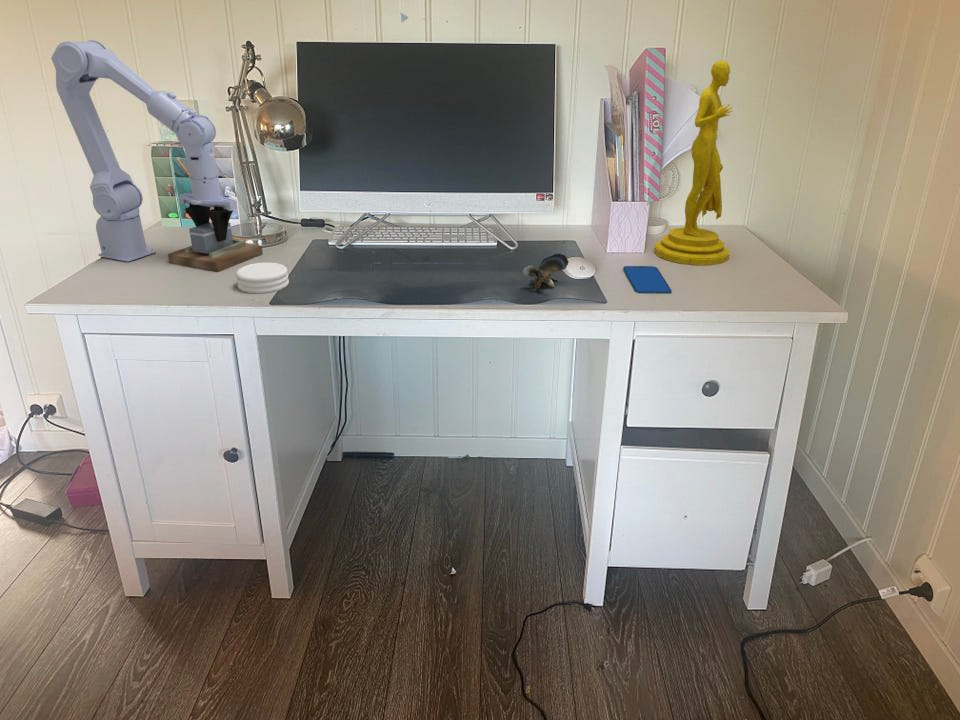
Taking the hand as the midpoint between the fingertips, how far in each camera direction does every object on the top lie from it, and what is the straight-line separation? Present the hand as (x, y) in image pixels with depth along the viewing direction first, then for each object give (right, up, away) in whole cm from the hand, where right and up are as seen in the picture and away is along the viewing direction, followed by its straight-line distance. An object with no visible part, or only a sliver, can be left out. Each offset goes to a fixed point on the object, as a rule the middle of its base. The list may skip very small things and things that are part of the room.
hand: (213, 239), depth 156 cm
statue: (+108, -2, +7) cm, 108 cm away
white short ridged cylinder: (+15, -12, -13) cm, 23 cm away
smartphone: (+93, -11, -9) cm, 94 cm away
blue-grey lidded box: (0, -2, 0) cm, 2 cm away
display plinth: (0, -4, +2) cm, 4 cm away
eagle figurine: (+72, -12, -13) cm, 74 cm away
